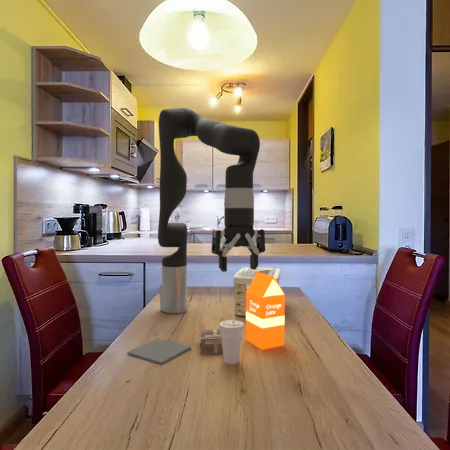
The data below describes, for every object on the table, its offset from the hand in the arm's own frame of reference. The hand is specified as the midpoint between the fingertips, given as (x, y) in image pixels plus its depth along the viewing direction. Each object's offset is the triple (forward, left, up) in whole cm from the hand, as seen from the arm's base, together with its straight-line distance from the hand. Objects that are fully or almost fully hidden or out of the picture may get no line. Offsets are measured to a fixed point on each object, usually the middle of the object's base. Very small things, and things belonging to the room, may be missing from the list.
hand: (238, 270), depth 93 cm
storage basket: (-17, +44, -23) cm, 53 cm away
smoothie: (-1, -2, -23) cm, 23 cm away
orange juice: (+1, +14, -23) cm, 27 cm away
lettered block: (-9, +3, -23) cm, 25 cm away
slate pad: (-20, -7, -23) cm, 32 cm away
